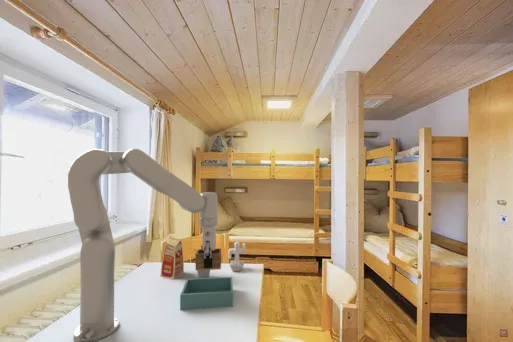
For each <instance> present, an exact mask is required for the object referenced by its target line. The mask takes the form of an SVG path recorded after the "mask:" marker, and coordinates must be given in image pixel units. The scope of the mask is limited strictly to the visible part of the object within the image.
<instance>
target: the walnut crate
mask: <svg viewBox="0 0 513 342" xmlns="http://www.w3.org/2000/svg"><path fill="white" fill-rule="evenodd" d="M209 250H211V249H209ZM196 251H197V252H196ZM196 251H195V259H196V260H195V262H196V264H195V271H197V270H210V271H211V270H213V271H214V270H221V269H222V248H221V247H220V248H215V250H214V251H213V250H212V255H211V258H212V268H204V253H205V251H203V249H199V248H198V249H197V250H196ZM209 253H210V252H209Z"/></svg>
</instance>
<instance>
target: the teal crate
mask: <svg viewBox="0 0 513 342" xmlns="http://www.w3.org/2000/svg"><path fill="white" fill-rule="evenodd" d="M233 282H234V281H233V276H223V277H221V276H220V277H209V278H198V277H197V278H186V280H185V283H184V285H183V288H182V290H181V293H179V295H180V296H179V299H180V301H179V302H180V303H179V305H180V307H179V309H180V311H186V310H187V311H189V310H202V309H203V310H204V309H218V308H220V309H221V308H233V307H234V289H233V287H234V284H233Z"/></svg>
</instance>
